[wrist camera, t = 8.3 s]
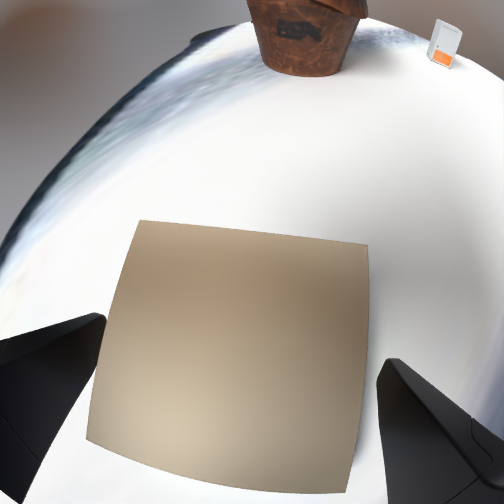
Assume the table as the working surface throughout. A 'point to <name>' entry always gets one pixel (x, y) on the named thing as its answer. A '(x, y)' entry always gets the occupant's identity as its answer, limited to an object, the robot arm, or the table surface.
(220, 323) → the birch block
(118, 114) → the table surface
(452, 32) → the skincare box
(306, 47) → the brown flower pot
